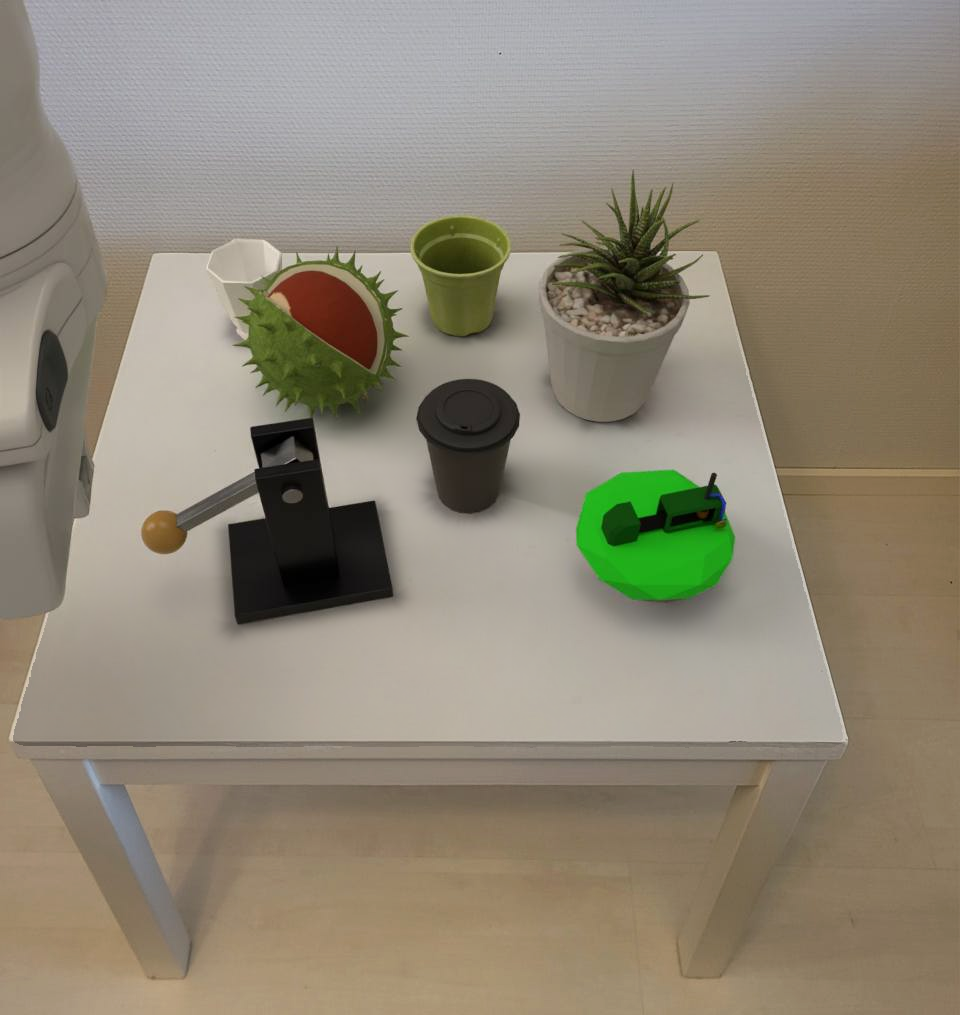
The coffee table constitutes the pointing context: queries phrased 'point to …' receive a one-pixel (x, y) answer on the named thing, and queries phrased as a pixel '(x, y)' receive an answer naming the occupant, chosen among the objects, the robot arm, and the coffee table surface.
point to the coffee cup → (468, 441)
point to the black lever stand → (303, 539)
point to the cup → (242, 274)
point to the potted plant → (613, 315)
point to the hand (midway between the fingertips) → (74, 494)
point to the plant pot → (461, 270)
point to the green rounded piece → (656, 535)
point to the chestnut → (321, 333)
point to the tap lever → (214, 502)
